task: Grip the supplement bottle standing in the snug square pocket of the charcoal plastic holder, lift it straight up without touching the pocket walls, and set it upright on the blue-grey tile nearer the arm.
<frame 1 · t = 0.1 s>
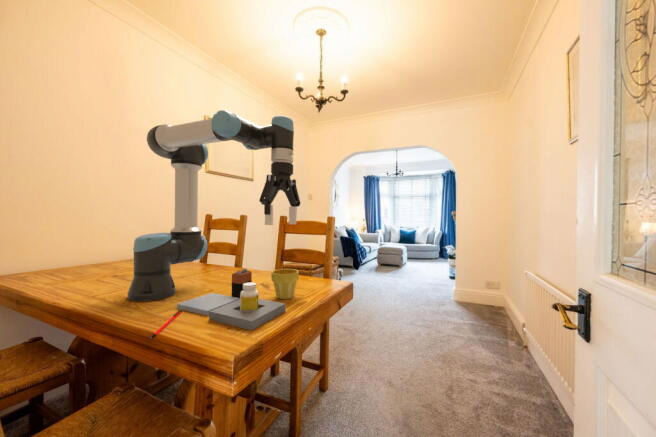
hand: (281, 224, 91), 28 cm above the table, tool pointing down, fingers open, 13 cm apart
pen: (168, 325, 75), on the table
pocket holder: (249, 315, 81), on the table
battery: (241, 296, 101), on the table
supplement bottle: (249, 316, 81), resting in pocket holder
plant pot: (284, 297, 101), on the table
blue-grey tile: (209, 305, 90), on the table
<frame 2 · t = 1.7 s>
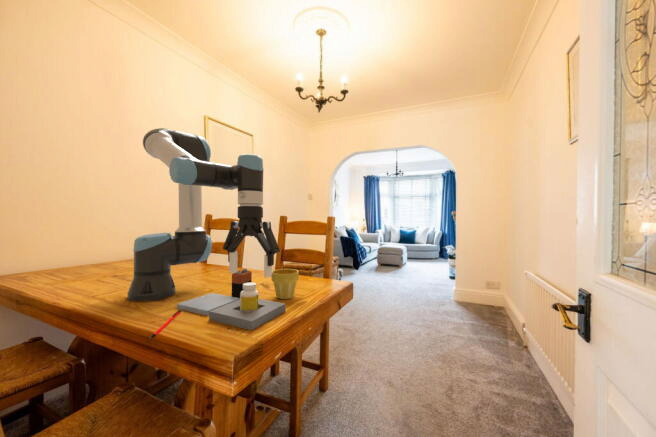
hand: (250, 274, 81), 13 cm above the table, tool pointing down, fingers open, 13 cm apart
nothing on the table moved.
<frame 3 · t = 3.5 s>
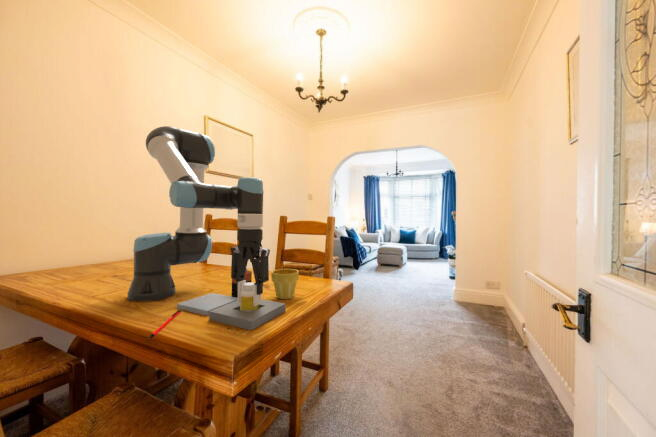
hand: (249, 303, 81), 4 cm above the table, tool pointing down, fingers closed on supplement bottle, 5 cm apart
supplement bottle: (249, 316, 81), resting in pocket holder, touching gripper
everything else where it was.
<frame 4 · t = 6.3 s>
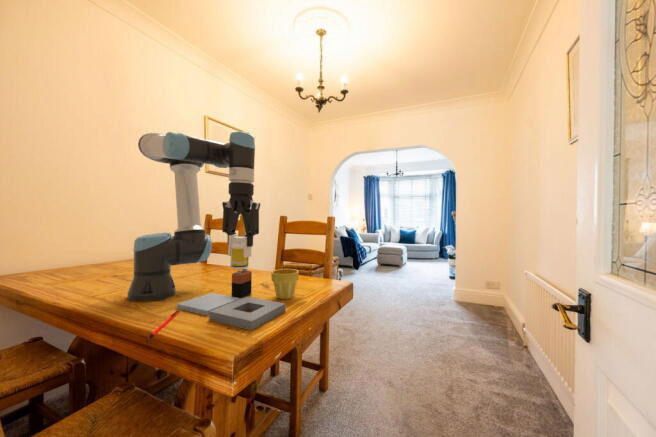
hand: (239, 255, 84), 18 cm above the table, tool pointing down, fingers closed on supplement bottle, 5 cm apart
supplement bottle: (239, 268, 84), point 14 cm above the table, touching gripper
everything else where it was.
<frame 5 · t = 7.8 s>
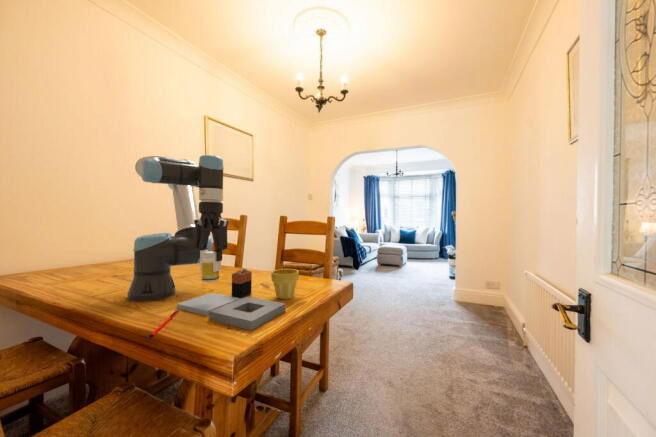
hand: (210, 269, 90), 12 cm above the table, tool pointing down, fingers closed on supplement bottle, 5 cm apart
supplement bottle: (210, 281, 90), point 8 cm above the table, touching gripper
everything else where it was.
when the fingers open (6 cm above the table, at t = 9.1 s): supplement bottle stays where it is, resting on blue-grey tile.
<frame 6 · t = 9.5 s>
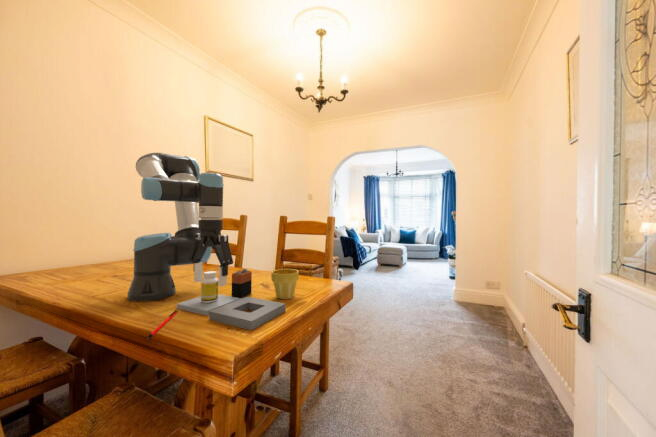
hand: (210, 283, 90), 7 cm above the table, tool pointing down, fingers open, 11 cm apart
supplement bottle: (209, 301, 90), point 1 cm above the table, touching blue-grey tile
everything else where it was.
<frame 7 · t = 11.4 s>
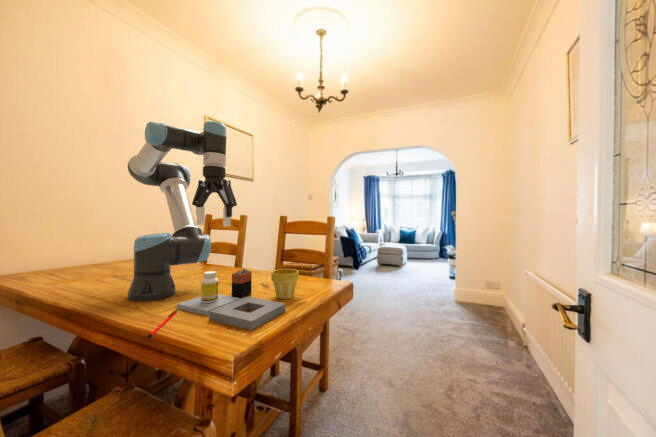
hand: (213, 225, 95), 27 cm above the table, tool pointing down, fingers open, 13 cm apart
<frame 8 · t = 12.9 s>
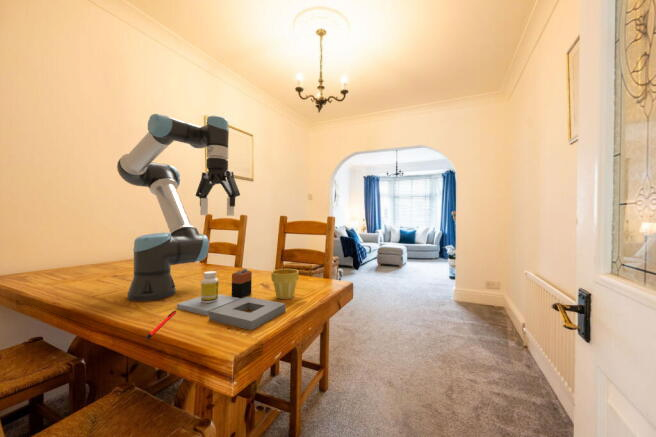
hand: (216, 215, 99), 31 cm above the table, tool pointing down, fingers open, 13 cm apart
at the end: supplement bottle inside the target area on the blue-grey tile (0.2 cm from its centre), point 1.3 cm above the blue-grey tile's base; supplement bottle tilted 0°; the gripper is holding nothing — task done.
